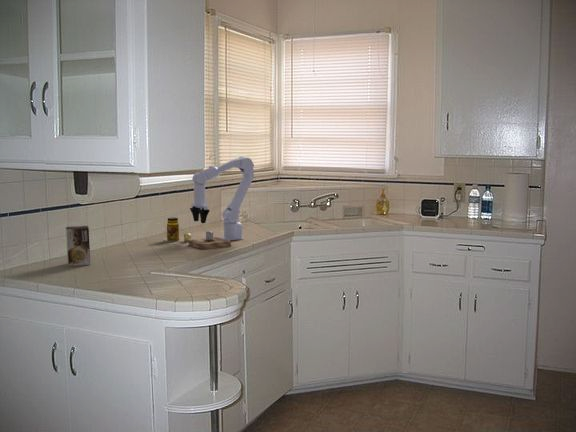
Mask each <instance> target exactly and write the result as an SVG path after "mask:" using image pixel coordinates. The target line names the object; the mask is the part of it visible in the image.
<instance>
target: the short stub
mask: <svg viewBox="0 0 576 432" xmlns="http://www.w3.org/2000/svg"><path fill="white" fill-rule="evenodd" d="M189 240H192V233H184V234H183V242H184V243H189Z"/></svg>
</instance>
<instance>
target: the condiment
mask: <svg viewBox="0 0 576 432" xmlns="http://www.w3.org/2000/svg"><path fill="white" fill-rule="evenodd" d="M166 237H167V238H166V239H165V238H164V239H163V241H165V242H168V243H175V242H176V243H177V242H182V240H181V239H180V225H179V218H178V217H176V216H175V217H172V216H171V217H168V218H167V223H166Z"/></svg>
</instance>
